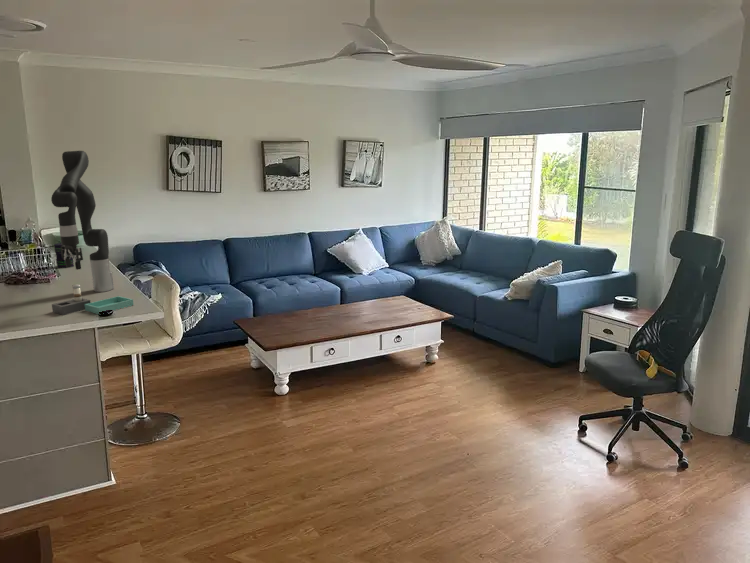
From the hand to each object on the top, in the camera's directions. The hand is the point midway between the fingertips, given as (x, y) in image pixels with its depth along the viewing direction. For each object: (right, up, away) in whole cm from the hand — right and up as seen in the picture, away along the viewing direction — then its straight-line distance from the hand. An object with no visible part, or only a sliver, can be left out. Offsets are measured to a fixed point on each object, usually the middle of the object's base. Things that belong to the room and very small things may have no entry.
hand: (73, 268), depth 287 cm
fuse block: (-2, -20, +2) cm, 20 cm away
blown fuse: (0, -18, +4) cm, 18 cm away
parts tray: (+15, -19, +5) cm, 25 cm away
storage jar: (-56, +3, +102) cm, 116 cm away
